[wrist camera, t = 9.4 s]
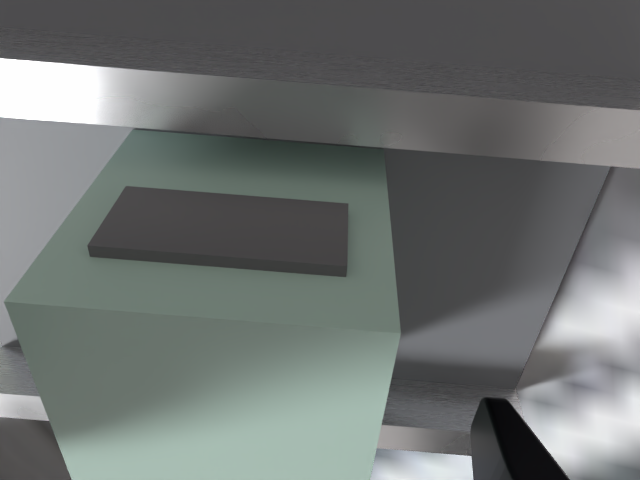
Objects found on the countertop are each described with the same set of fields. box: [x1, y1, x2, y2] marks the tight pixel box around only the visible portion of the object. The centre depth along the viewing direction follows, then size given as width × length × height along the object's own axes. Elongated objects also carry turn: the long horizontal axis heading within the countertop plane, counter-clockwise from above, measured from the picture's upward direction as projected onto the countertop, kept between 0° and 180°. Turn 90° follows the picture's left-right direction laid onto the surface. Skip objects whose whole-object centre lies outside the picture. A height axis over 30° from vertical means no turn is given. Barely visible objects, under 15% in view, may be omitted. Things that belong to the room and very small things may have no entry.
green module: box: [4, 130, 401, 480], centre depth 11 cm, size 5×6×5 cm
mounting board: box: [0, 0, 640, 456], centre depth 12 cm, size 14×13×2 cm
